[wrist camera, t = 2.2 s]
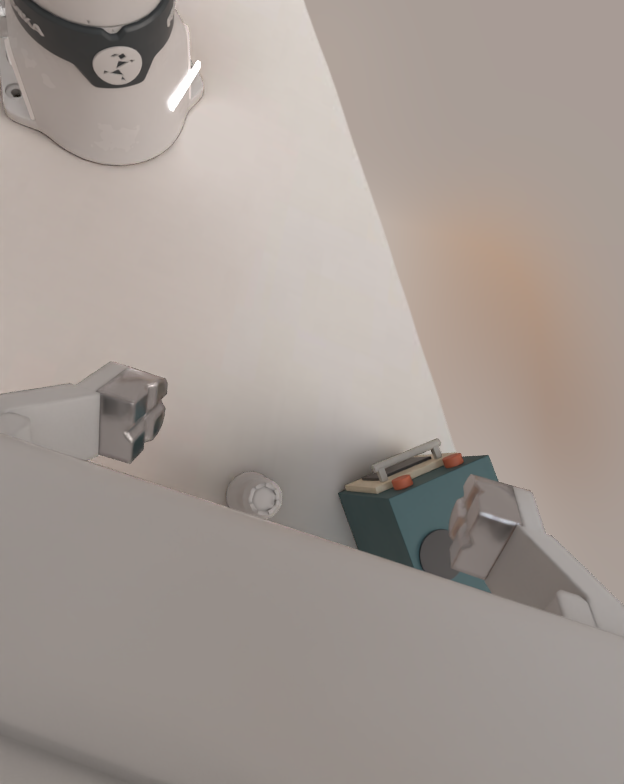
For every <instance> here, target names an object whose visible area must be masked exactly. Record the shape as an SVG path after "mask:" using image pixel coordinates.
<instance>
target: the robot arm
mask: <svg viewBox="0 0 624 784" xmlns="http://www.w3.org/2000/svg"><path fill="white" fill-rule="evenodd" d="M199 69H200V62H199V61H198V60H197V62H196V63H195V65H194V64H193V62H192V61H191V59H190V35H189V29H188V26H187V24H185V23H183V21H182V19H181V17H180V15H179V13H178V12H177V10H176V9H175V0H0V79H1V90H2V100H3V105H4V109H5V112H6V114H7V116H8V117H9V118H10V119H12V120H13V121H15V122H17V123H20V124H22V125H25V126H27V127H30V128H33V129H36V130H39V131H41V132H43V133H44V134H46V135H47V136H48V137H50V138H51V139H52V140H53V141H55V142H56V143H57V144H58V145H60V146H61V147H63V148H64V149H66V150H67V151H69V152H71V153H73V154H74V155H77V156H79V157H81V158H84V159H86V160H89V161H92V162H96V163H101V164H107V165H131V164H136V163H141V162H144V161H147V160H150V159H152V158H154V157H156V156H158V155H160V154H161V153H163V152H164V151H165V150H167V149H168V148H169V147H170V146H171V145H172V144H173V143H174V141H175V140H176V139H177V137H178V136H179V134H180V132H181V130H182V127H183V124H184V121H185V118H186V115H187V113H188V111H189V109H191V108H192V107H193V106H194V105H195V104H196V103H197V102H198V101H199V100H200V99H201V97H202V96H203V93H204V83H203V80H202V78H201V76H200V74H199V72H198V71H199ZM17 94H19V95H21V96H20V97H14V96H15V95H17ZM167 386H168V382H167V380H166V378H163V377H160V376H157V375H154V374H151V373H148V372H145V371H142V370H139V369H136V368H133V367H130V366H127V365H123V364H120V363H117V362H109V363H107V364H106V365H104V366H103V367H101V368H100V369H98V370H97V371H95V372H94V373H92V374H91V375H89V376H88V377H87V378H85V379H84V380H82V381H81V382H79V383H78V384H76V385H74V384H70V383H69V384H62V385H56V386H49V387H43V388H36V389H30V390H23V391H17V392H10V393H4V394H0V784H624V605H623V604H622V603H621V602H620V601H619V600H618V599H617V598H616V597H615V596H614V595H613V594H612V593H611V592H609V590H608V589H607V588H606V587H604V585H603V584H601V583H600V582H599V581H598V580H597V579H596V578H595V577H594V576H593V575H592V574H591V573H590V572H589V571H588V570H587V569H586V568H585V567H584V566H583V565H582V564H581V563H580V562H579V561H578V560H577V559H576V558H575V557H574V556H572V555H571V553H569V552H568V551H567V550H566V549H565V548H564V547H563V546H562V545H561V544H560V543H559V542H558V541H557V540H556V539H555V538H554V537H553V536H552V535H549V534H546V532H545V529H544V526H543V523H542V520H541V517H540V513H539V510H538V507H537V504H536V501H535V498H534V495H533V493H532V492H531V491H530V490H527V489H523V488H519V487H516V486H512V485H508V484H504V483H501V482H498V481H494V480H491V479H487V478H484V477H480V476H477V475H473V474H470V476H469V477H468V478H467V480H466V482H465V484H464V486H463V490H464V496H463V497H461V498H460V499H458V500H456V503H455V505H454V507H453V509H452V512H451V516H450V520H449V528H448V530H449V537H450V538H451V539H452V540H453V542H452V544H451V546H450V548H449V549H450V563H451V569H454V570H457V571H460V572H463V573H465V574H468V575H471V576H474V577H477V578H480V579H482V580H485V583H486V585H487V586H488V588H489V590H490V591H491V593H489V592H486V591H483V590H480V589H477V588H474V587H471V586H467V585H464V584H461V583H458V582H455V581H452V580H449V579H446V578H443V577H440V576H437V575H434V574H431V573H428V572H425V571H422V570H419V569H415V568H412V567H409V566H406V565H403V564H400V563H397V562H394V561H391V560H388V559H385V558H382V557H379V556H376V555H373V554H370V553H367V552H363V551H360V550H357V549H354V548H351V547H348V546H345V545H342V544H339V543H336V542H333V541H330V540H327V539H324V538H321V537H318V536H315V535H311V534H308V533H305V532H302V531H299V530H296V529H293V528H290V527H287V526H284V525H281V524H278V523H275V522H272V521H269V520H266V519H263V518H259V517H256V516H253V515H250V514H247V513H244V512H241V511H238V510H235V509H232V508H229V507H226V506H223V505H220V504H217V503H214V502H211V501H208V500H204V499H201V498H198V497H195V496H192V495H189V494H186V493H183V492H180V491H177V490H174V489H171V488H168V487H165V486H162V485H159V484H156V483H152V482H149V481H146V480H143V479H140V478H137V477H134V476H131V475H128V474H125V473H122V472H119V471H116V470H113V469H110V468H107V467H104V466H101V465H97V464H94V463H91V462H88V461H87V460H90V459H92V458H95V457H97V456H98V455H102V456H105V457H108V458H112V459H115V460H119V461H122V462H125V463H129V464H131V462H132V461H133V460H134V459H135V458H136V457H137V456H138V455H139V454H140V453H141V452H142V451H143V449H144V443H145V442H148V441H152V440H153V439H154V438H155V436H156V435H157V434H158V432H159V430H160V428H161V426H162V424H163V420H164V416H165V406H164V405H163V403H162V401H161V399H162V398H163V397H164V396H165V395H166V394H167Z"/></svg>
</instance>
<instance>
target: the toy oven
mask: <svg viewBox="0 0 624 784" xmlns="http://www.w3.org/2000/svg"><path fill="white" fill-rule="evenodd" d="M440 445H441V442H440V440H439V439H434V440H432V441H429V442H427V443H425V444H422V445H420V446H417V447H415V448H412V449H410V450H407V451H405V452H403V453H400V454H398V455H395V456H393V457H390V458H388V459H385V460H383V461H381V462H378V463H376V464H373V465H372V466H371V468H372V470H373V472H374V473H372V474H370V475H367V476H365V477H362V478H361V479H359V480H357V481H354V482H352V483H349V484H347V485H345V488H346V490H345V491H342V492H340V493H338V494H339V497H340V500H341V503H342V506H343V508H344V511H345V514H346V517H347V519H348V522H349V525H350V528H351V530H352V533H353V536H354V539H355V541H356V544H357V547H358V550H360V551H363V552H367V553H370V554H373V555H376V556H379V557H382V558H385V559H388V560H391V561H394V562H397V563H400V564H403V565H406V566H409V567H412V568H415V569H419V570H422V571H425V572H428V573H431V574H434V575H437V576H440V577H443V578H446V579H449V580H452V581H455V582H458V583H461V584H464V585H467V586H471V587H474V588H477V589H480V590H483V591H486V592H489V593H491V591H490V590H489V588H488V586H487V585H486V583H485V580H482V579H480V578H477V577H474V576H471V575H468V574H465V573H463V572H460V571H457V570H454V569H451V563H450V549H449V548H450V546H451V544H452V542H453V540H452V539H451V538H450V537H449V530H448V528H449V520H450V516H451V512H452V509H453V507H454V505H455V503H456V500H458V499H460V498H461V497H463V496H464V490H463V486H464V484H465V482H466V480H467V478H468V477H469V476H470V474H473V475H477V476H480V477H484V478H487V479H491V480H494V481H498V479H497V476H496V473H495V471H494V468H493V466H492V463H491V460H490V458H489V456H488V455H483V456H467V457H462V456H461V453H457V452H456V453H443V454H441V451H440V448H439V446H440ZM429 450H431V452H432V454H430V455H419V454H422V453H424V452H426V451H429ZM417 455H418V456H417ZM498 482H499V481H498Z"/></svg>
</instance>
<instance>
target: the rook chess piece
mask: <svg viewBox="0 0 624 784" xmlns="http://www.w3.org/2000/svg"><path fill="white" fill-rule="evenodd" d="M226 499H227V504H228V506H229V508H232V509H235V510H238V511H241V512H244V513H247V514H250V515H253V516H256V517H259V518H263V519H268V518H270V517H272V516H273V515H275V514H276V513H277V512H278V510H279V509H280V507H281V504H282V492H281V490H280V488H279V486H278V485H277V484H276V483H275V482H274V481H273V480H270V479H268V478H266V477H265V476H264V475H263V474H260V473H257V472H254V471H250V472H243V473H241V474H239V475H237V476H236V477H235V478H234V479H233V480H232V481H231V482H230V484H229V486H228V489H227V492H226Z"/></svg>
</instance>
